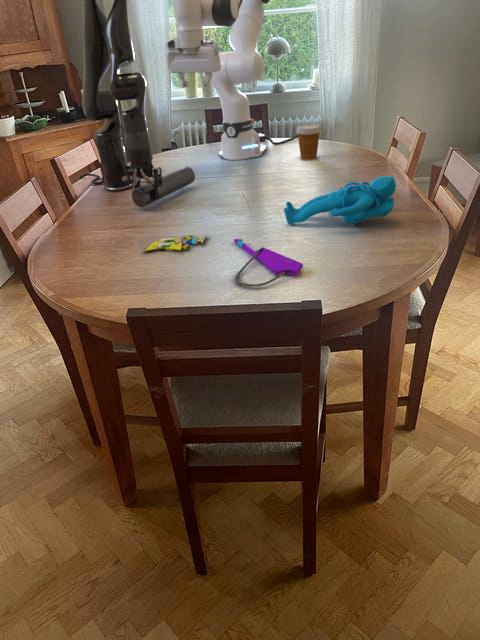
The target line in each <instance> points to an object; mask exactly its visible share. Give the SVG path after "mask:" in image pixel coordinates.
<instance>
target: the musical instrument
mask: <svg viewBox="0 0 480 640" xmlns="http://www.w3.org/2000/svg"><path fill="white" fill-rule="evenodd" d="M233 243H235V244H236V245H237V246H238V247H239V248H240V249H242V250H244V251H245V252H246V253H248V254H249V255H250V256H252V257H251V258H250V259H249V260H248V261H247V262H246V263H245V264H244V265H243V266H242V267H241V268H240V270H239V271H238V272H237V273H236V275H235V283H236V284H237V285H240V286H245V287H262V286H266V285H268V284H270V283H272V282H274V281H276V280H278V279H280V278H281V277H282V276H283V275H285V274H288V275H295V276H296V275H299V274H300V272H301V271H302V270H303V268H304V263H302V262H300V261H298V260H295V259H292V258H290V257H289V256H285V255H283V254H280V253H278V252H275V251H274V250H271V249H268V248H266V247H264V246H262V247H260V248H259V249H257V250H254V249H252V248H251V247H250V246H248V245H247V244H246V243H245V242H244V241H243V239H242V238H234V239H233ZM253 260H256V261H258V262H260V264H262V265H263V266H264V267H266V268H267V269H268V270H269V271H271V272H272V273H273V274H275V275H277V276H274V277H273V278H271V279H269V280H268V281H264V282H261V283H254V284H253V283H246V282H241V281H240V280H239V278H240V275H241V274H242V272H243V271H244V270H245V269H246V268H247V266H248V265H250V264H251V263H252V262H253Z"/></svg>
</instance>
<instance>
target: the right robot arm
mask: <svg viewBox="0 0 480 640" xmlns="http://www.w3.org/2000/svg"><path fill="white" fill-rule="evenodd" d="M269 2H270V0H172V5H173V14H174V19H175V22H176V36H174V37H173V38H171V39H169V40H167V41H166V42H165V48H166V49H167V51H166V62H167V63H166V64H167V69H168V70H167V71H169V73H170V74H177V77H178V79H179V80H180V82H181V87H182V88H188V87H189V86H190V85H189V81H188V80H186V77H185V76H186V74H195V73H196V74H198V73H200V74H201V73H202V75H203V77H204V79H205V81H203V87H204V88H211V86H212V87H213V89H214V90H215V91H216V93H217V96H218V97H219V98H218V99H219V100H220V104H221V112H222V120H223V121H222V131H223V133H222V134H221V135H220V138H221V140H220V141H221V143H220V144H221V151H220V152H219V156H220V157H222V158H223V159H225V160H229V161H238V160H239V161H240V160H246V159H247V160H248V159H252V158H259V157H261V155H263V153H264V152H266V151H265V150H266V149H267V146H266V145H264V144H262V143H266V140H267V141H269V142H270V143H271V144H272V145H275V146H276V145H281V144H285V143H288V142H291V141H294V140H295V139H298V134H297V135H296V134H295V135H294V136H292V137H291V138H288V139H284V140H281V141H279V142H278V141H277V142H275V141H273V139H272V138H271V137H268V136H266V135H265V134H262V133H258V132H257V131H256V130H255V129H254V126H253V124H255V122H256V121H255V118H252V117H251V112H250V100H249V98H248V97H247V96H246V95H245V94H244V93H242V92H241V91H240V90H239V89H238V87H237V84H250V83H254V82H257V81H260V80H261V79H262V77H263V75H264V73H265V60H264V58H263V56H262V54H261V53H260V52H258V51H257V44H258V39H259V38H260V37H259V36H260V33H261V30H262V27H263V23H264V17H265V8H264V5H267V4H268V3H269ZM204 28H205V29H207V28H230V31H229V34H228V42H229V45H230V47H231V48H232V50H233V51H220V52H219V45H218V43H217V42H216V41H215V40H214V39H210V40H205V32H204Z"/></svg>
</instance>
